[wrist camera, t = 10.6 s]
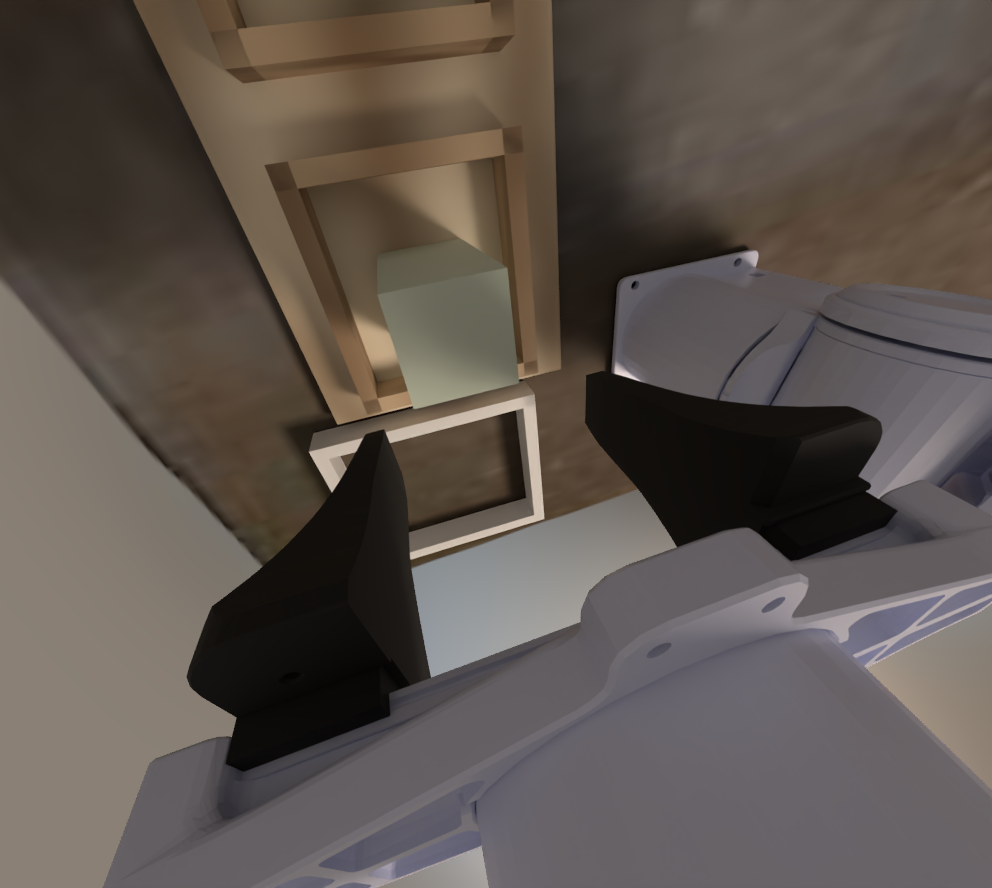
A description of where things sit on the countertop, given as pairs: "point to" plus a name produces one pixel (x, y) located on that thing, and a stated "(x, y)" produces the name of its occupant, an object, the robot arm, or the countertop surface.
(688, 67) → the countertop surface
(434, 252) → the block
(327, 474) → the rectangular frame
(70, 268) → the countertop surface
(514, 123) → the wooden divided tray
